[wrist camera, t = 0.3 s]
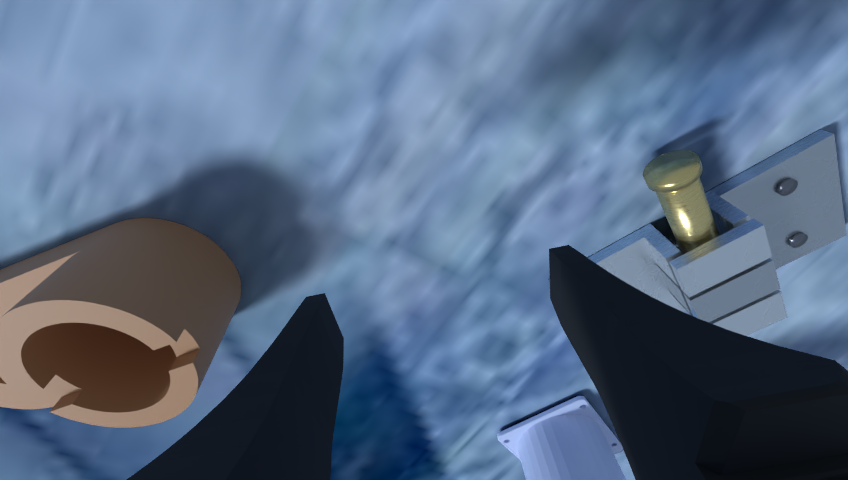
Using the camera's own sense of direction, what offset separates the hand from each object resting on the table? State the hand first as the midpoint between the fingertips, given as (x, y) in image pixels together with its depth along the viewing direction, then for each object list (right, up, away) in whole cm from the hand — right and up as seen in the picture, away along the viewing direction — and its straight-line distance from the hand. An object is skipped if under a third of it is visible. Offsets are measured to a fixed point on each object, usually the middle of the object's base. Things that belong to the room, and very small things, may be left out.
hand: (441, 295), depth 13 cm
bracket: (-20, -2, +12) cm, 24 cm away
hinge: (+16, +1, +13) cm, 21 cm away
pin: (+14, +3, +11) cm, 19 cm away
